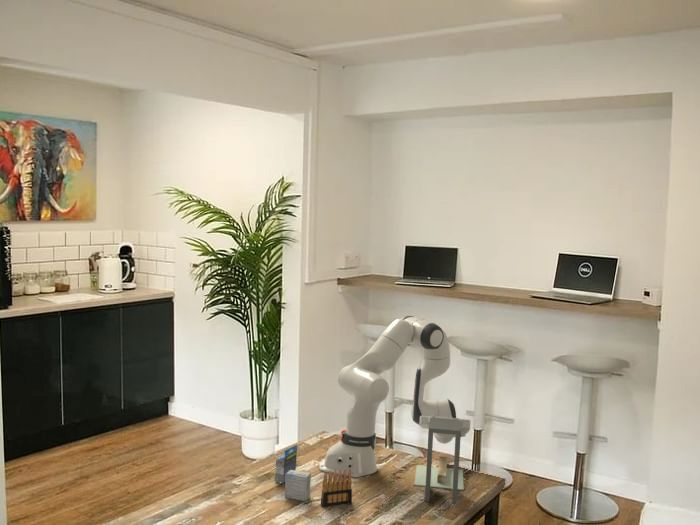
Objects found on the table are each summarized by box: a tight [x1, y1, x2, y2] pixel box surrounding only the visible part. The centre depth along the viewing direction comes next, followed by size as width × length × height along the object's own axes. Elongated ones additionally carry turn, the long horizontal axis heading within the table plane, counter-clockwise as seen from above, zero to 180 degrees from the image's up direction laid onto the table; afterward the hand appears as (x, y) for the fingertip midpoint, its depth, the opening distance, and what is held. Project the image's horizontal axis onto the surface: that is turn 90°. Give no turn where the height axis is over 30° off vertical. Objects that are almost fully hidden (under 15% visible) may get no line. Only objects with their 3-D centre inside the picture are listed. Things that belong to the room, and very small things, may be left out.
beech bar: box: [437, 455, 448, 484], centre depth 263 cm, size 3×20×3 cm, turn 171°
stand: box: [424, 418, 462, 505], centre depth 241 cm, size 11×12×26 cm
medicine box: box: [284, 470, 312, 502], centre depth 235 cm, size 8×4×9 cm, turn 71°
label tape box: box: [274, 444, 298, 484], centre depth 251 cm, size 9×4×12 cm, turn 154°
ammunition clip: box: [320, 469, 353, 508], centre depth 231 cm, size 11×2×12 cm, turn 112°
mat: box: [413, 464, 465, 491], centre depth 259 cm, size 18×20×1 cm
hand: (445, 419), depth 267 cm, fingers open, 8 cm apart
